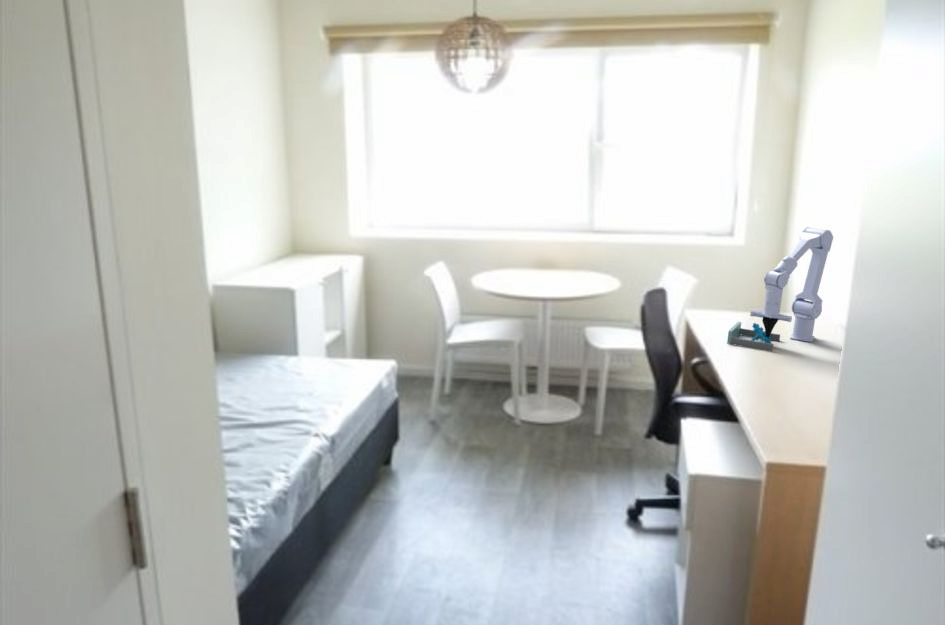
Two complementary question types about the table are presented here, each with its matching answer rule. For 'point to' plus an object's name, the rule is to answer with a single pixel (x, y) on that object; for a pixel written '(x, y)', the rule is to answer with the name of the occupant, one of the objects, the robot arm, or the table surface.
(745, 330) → the grey open frame
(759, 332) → the gear
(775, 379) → the table surface
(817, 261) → the robot arm
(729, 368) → the table surface
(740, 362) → the table surface
